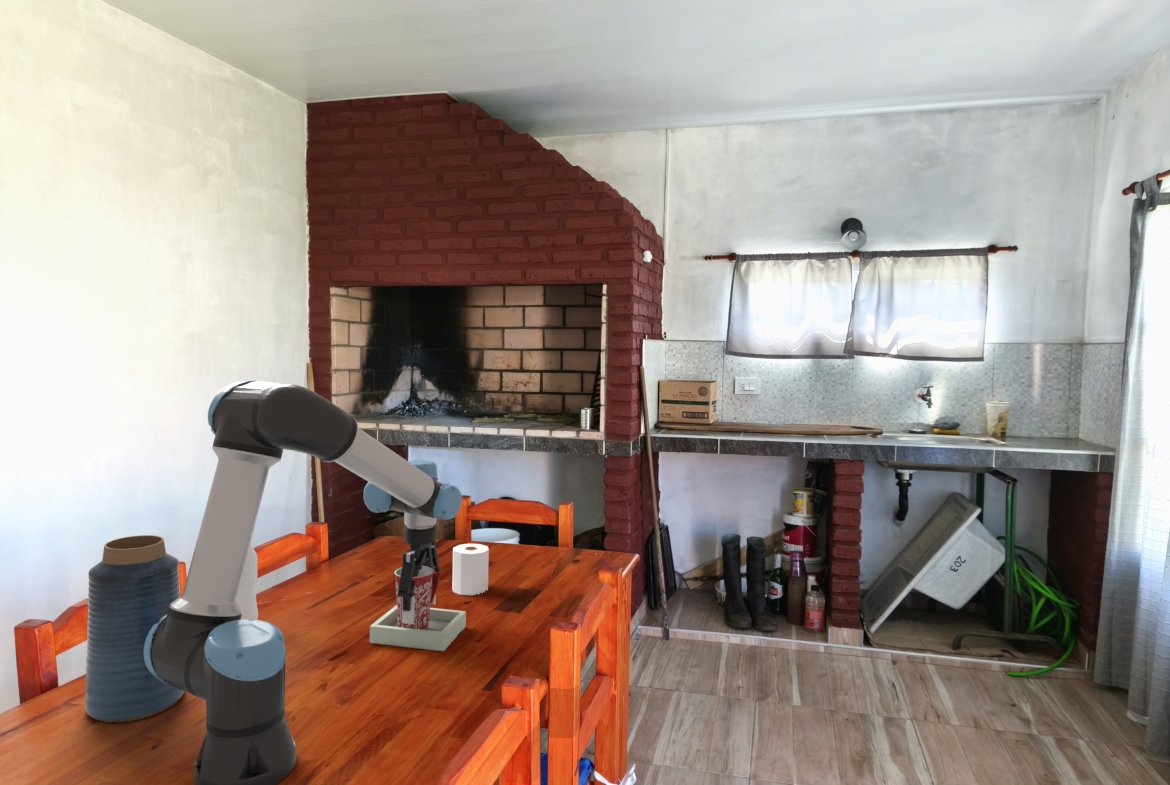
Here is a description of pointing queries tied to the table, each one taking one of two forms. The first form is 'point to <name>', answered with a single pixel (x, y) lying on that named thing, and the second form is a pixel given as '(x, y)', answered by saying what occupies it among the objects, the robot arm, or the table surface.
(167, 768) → the table surface
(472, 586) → the toilet paper
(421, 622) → the mug
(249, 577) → the water bottle
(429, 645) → the tray
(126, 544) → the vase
